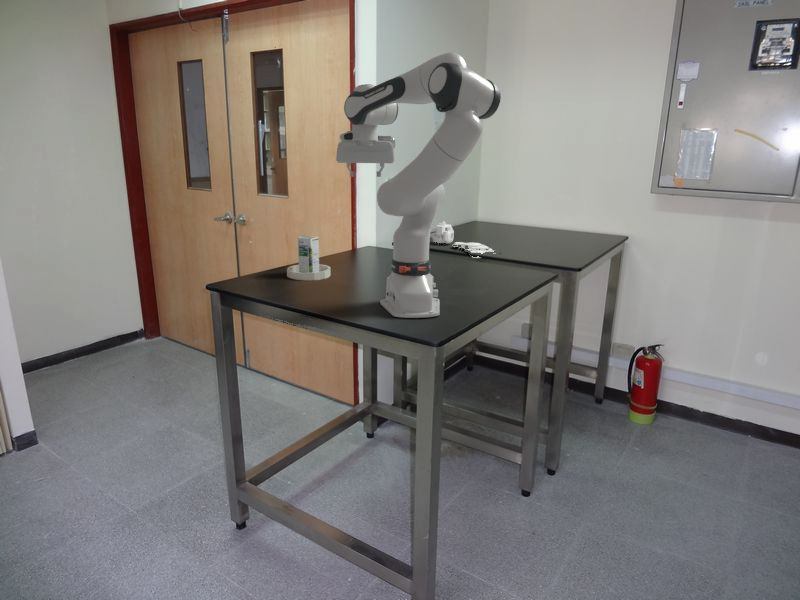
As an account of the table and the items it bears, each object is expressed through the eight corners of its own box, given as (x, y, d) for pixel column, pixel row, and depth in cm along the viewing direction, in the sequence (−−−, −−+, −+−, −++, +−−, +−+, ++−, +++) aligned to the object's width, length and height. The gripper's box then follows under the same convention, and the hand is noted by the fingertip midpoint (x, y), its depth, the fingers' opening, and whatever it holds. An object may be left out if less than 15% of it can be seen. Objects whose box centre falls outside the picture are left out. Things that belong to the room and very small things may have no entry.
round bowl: (330, 281, 197) (330, 272, 196) (285, 281, 195) (285, 273, 194) (330, 271, 212) (330, 263, 211) (289, 272, 210) (288, 264, 209)
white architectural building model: (458, 259, 241) (459, 249, 240) (450, 249, 265) (451, 240, 264) (509, 259, 242) (509, 249, 241) (496, 249, 266) (497, 240, 265)
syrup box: (298, 275, 202) (296, 237, 198) (307, 272, 207) (305, 234, 203) (311, 277, 200) (310, 238, 196) (320, 274, 205) (318, 236, 201)
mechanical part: (435, 242, 279) (436, 219, 276) (456, 245, 273) (457, 221, 270) (424, 245, 270) (425, 221, 267) (446, 248, 264) (447, 224, 261)
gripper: (394, 136, 191) (393, 176, 195) (335, 135, 188) (336, 175, 192) (396, 135, 185) (395, 177, 189) (335, 134, 182) (336, 176, 186)
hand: (365, 176), depth 190 cm, fingers open, 8 cm apart
